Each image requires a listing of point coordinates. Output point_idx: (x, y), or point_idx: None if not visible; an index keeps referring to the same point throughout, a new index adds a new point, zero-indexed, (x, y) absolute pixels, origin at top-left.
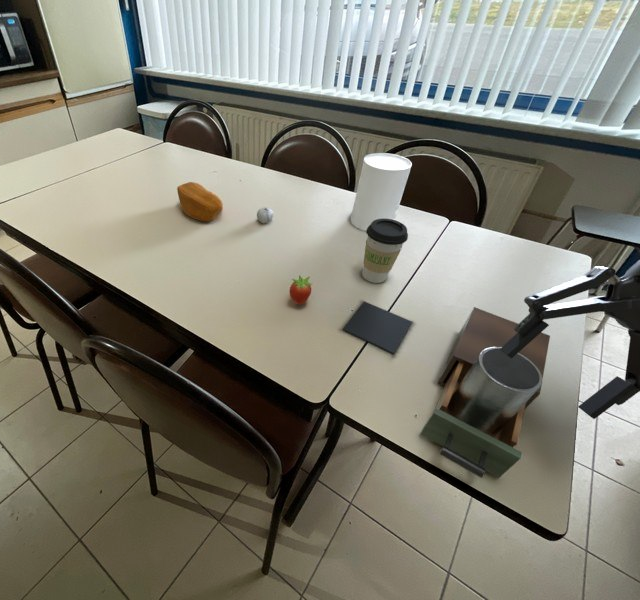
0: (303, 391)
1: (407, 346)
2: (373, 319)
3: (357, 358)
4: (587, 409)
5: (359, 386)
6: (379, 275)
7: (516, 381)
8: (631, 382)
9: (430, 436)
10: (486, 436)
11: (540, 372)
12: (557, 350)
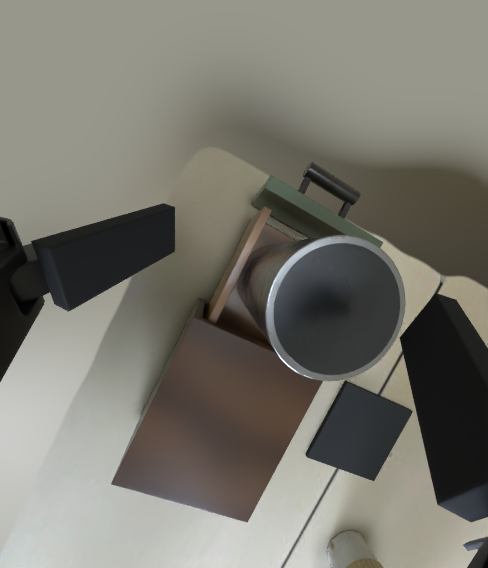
0: (470, 286)
1: (321, 402)
2: (365, 444)
3: (396, 360)
4: (169, 229)
5: None
6: (354, 552)
7: (343, 264)
8: (34, 273)
9: None
10: (313, 209)
11: (172, 372)
12: (74, 461)
